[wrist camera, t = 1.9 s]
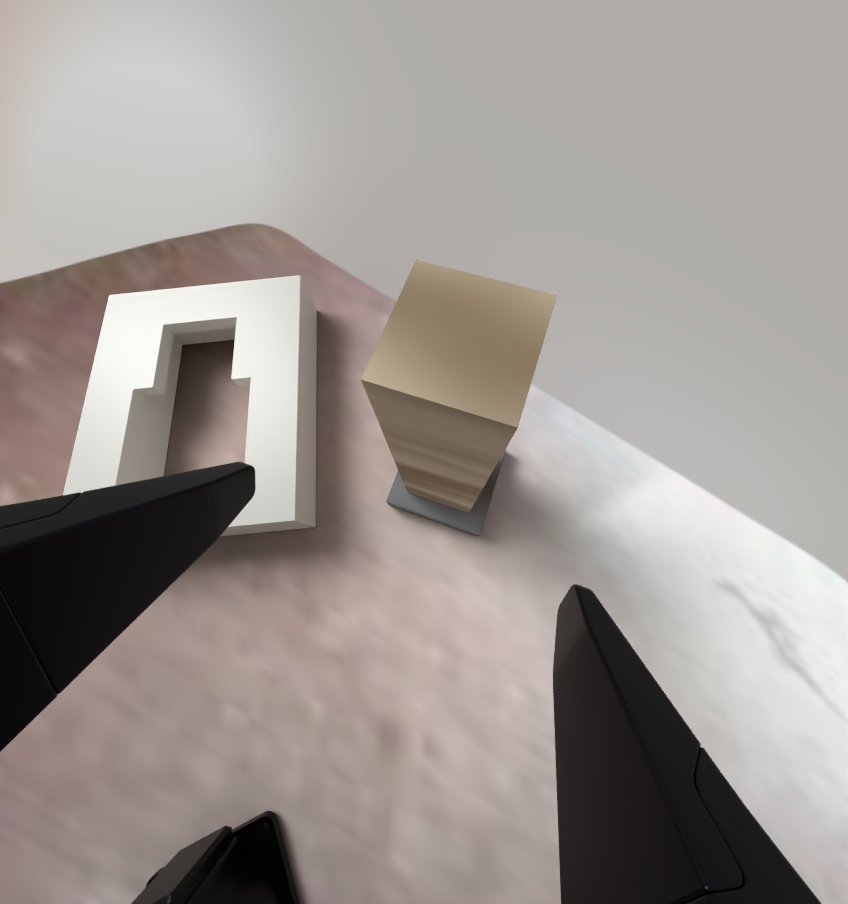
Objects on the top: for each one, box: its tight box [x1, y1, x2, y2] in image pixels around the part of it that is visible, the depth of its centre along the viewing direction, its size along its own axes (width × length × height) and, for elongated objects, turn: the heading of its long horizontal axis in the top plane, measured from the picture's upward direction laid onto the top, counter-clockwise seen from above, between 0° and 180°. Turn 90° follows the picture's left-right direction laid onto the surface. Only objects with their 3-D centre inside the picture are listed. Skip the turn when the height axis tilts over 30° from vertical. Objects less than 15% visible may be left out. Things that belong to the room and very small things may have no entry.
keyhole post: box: [361, 260, 557, 536], centre depth 16 cm, size 6×6×15 cm
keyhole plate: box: [63, 275, 317, 537], centre depth 24 cm, size 17×14×4 cm
